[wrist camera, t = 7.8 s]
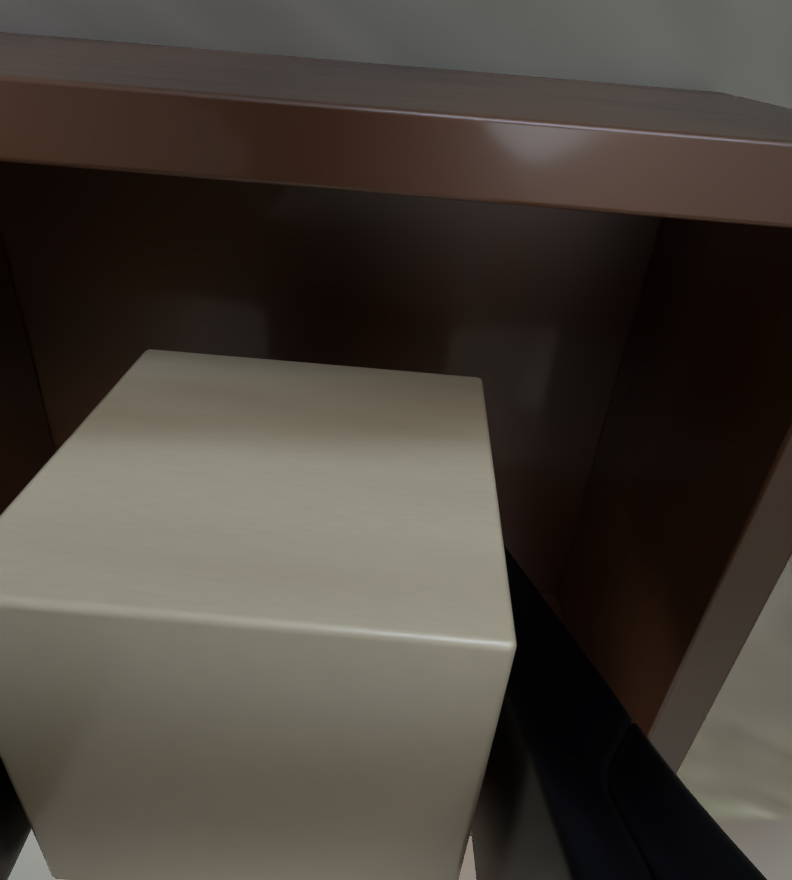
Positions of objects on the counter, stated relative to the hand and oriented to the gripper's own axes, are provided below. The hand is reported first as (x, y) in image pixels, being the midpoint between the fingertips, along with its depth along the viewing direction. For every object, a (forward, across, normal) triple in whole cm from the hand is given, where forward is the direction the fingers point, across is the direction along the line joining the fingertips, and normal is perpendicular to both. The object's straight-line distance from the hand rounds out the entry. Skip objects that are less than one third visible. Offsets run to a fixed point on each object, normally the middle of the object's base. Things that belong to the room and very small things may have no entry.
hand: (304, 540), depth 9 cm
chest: (+5, 0, 0) cm, 5 cm away
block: (+1, 0, 0) cm, 1 cm away
